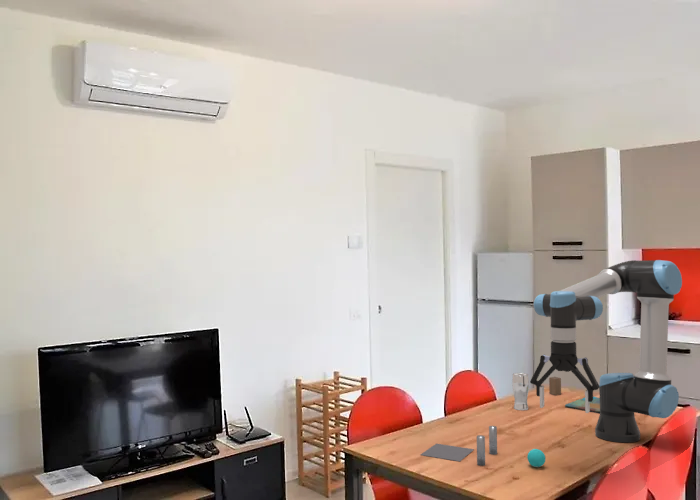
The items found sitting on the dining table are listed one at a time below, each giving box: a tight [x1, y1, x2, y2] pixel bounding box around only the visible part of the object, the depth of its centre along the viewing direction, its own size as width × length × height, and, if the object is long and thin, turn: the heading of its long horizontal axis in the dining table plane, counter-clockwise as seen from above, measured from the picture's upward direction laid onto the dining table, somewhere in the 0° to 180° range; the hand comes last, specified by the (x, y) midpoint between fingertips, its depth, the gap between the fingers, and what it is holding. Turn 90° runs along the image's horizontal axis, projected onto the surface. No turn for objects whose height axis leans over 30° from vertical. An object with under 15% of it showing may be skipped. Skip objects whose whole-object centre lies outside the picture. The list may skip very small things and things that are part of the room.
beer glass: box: [511, 372, 530, 411], centre depth 268 cm, size 7×7×15 cm
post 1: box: [476, 434, 486, 467], centre depth 197 cm, size 3×3×9 cm
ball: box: [526, 448, 546, 468], centre depth 195 cm, size 6×6×6 cm
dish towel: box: [564, 395, 600, 415], centre depth 271 cm, size 17×23×2 cm
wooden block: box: [548, 376, 562, 396], centre depth 294 cm, size 4×4×8 cm
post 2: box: [488, 425, 498, 456], centre depth 208 cm, size 3×3×9 cm
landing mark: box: [419, 443, 475, 463], centre depth 210 cm, size 14×14×1 cm
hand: (564, 409), depth 191 cm, fingers open, 13 cm apart
